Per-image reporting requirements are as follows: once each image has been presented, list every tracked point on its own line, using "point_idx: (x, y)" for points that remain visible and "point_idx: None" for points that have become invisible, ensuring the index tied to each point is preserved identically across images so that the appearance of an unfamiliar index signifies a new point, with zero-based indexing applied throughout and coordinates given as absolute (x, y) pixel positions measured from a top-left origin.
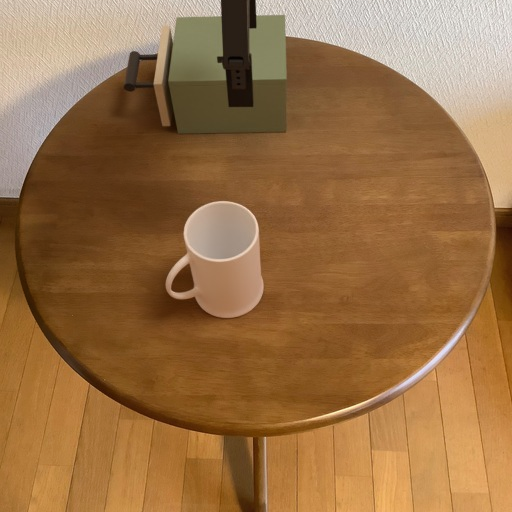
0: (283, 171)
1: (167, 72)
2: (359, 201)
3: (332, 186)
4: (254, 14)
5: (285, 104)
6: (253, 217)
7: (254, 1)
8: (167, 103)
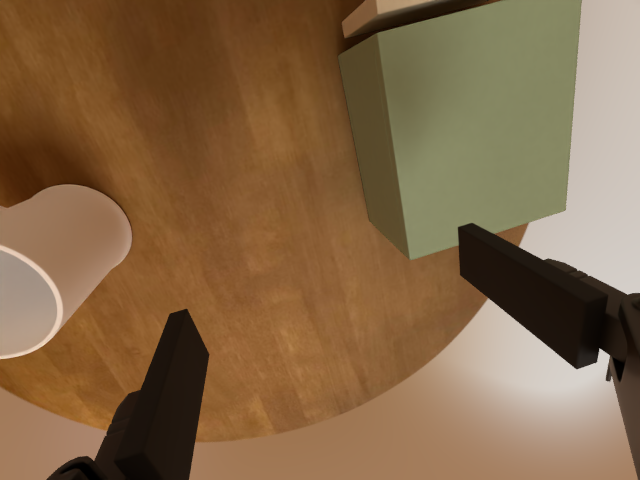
0: (300, 237)
1: (433, 5)
2: (277, 328)
3: (291, 297)
4: (485, 291)
5: (388, 238)
6: (45, 340)
7: (513, 314)
8: (368, 26)
